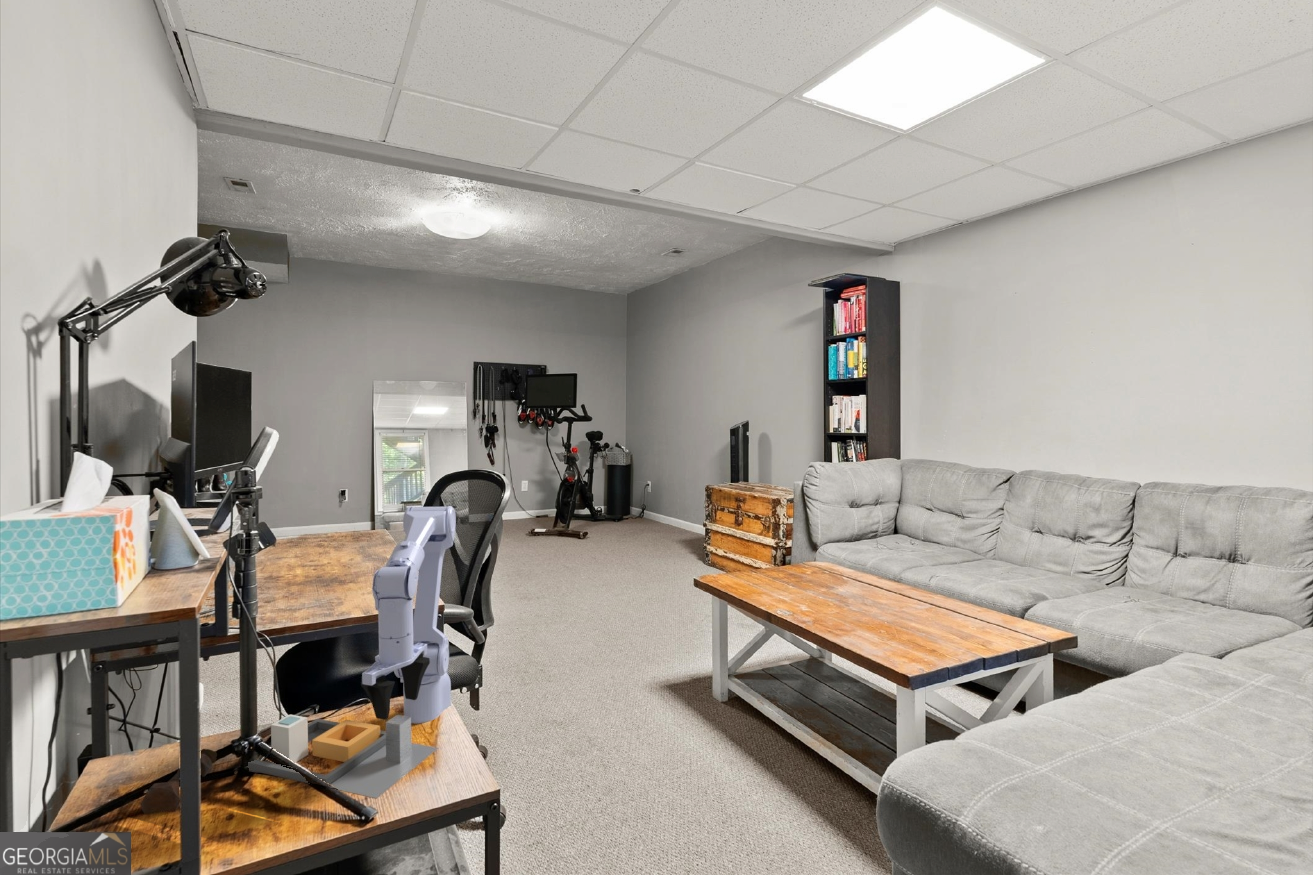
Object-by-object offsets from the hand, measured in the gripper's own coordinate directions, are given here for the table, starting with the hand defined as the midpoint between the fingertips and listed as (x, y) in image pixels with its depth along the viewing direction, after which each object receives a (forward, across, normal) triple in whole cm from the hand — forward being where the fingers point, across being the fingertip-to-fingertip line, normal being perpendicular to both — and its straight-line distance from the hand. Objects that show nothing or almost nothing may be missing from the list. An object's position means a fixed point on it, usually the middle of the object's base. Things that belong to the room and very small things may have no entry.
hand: (397, 708), depth 114 cm
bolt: (+11, +17, -28) cm, 35 cm away
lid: (+10, +3, 0) cm, 11 cm away
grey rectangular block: (+9, 0, 0) cm, 9 cm away
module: (+9, +6, -18) cm, 21 cm away
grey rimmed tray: (+10, +3, -14) cm, 18 cm away
